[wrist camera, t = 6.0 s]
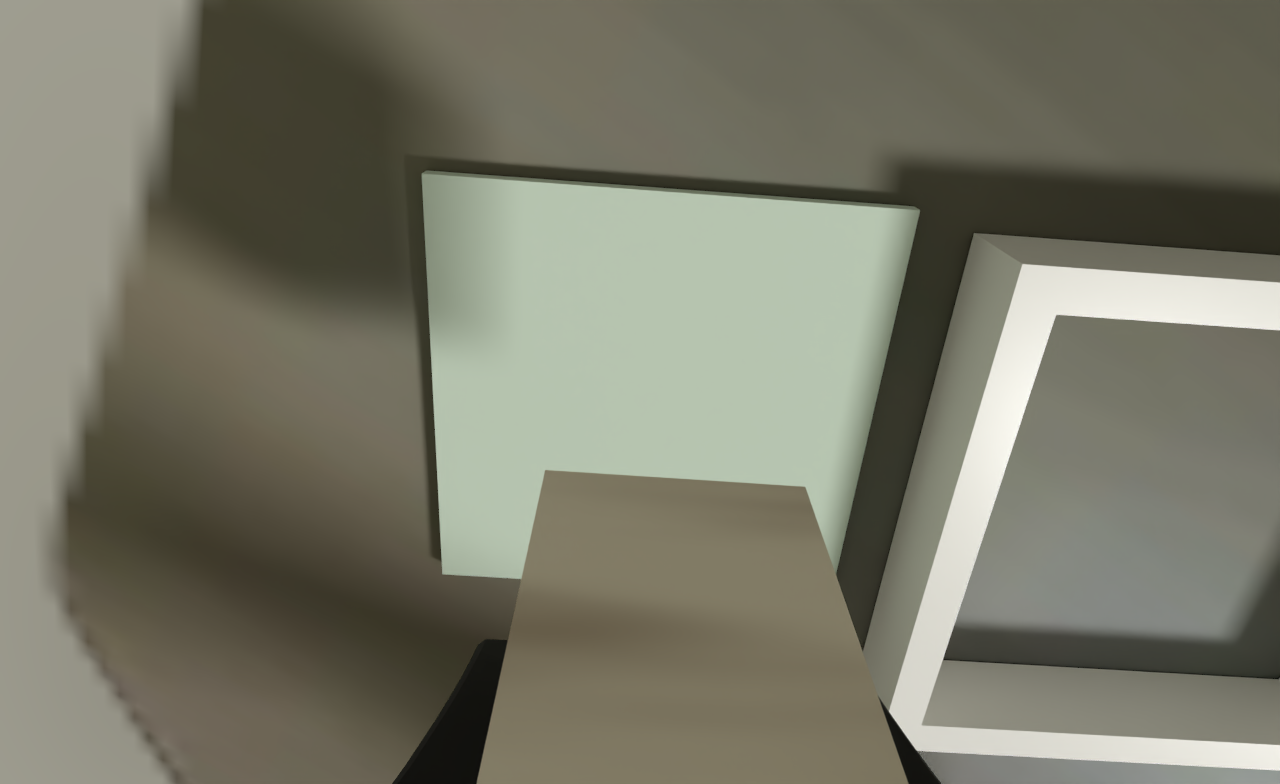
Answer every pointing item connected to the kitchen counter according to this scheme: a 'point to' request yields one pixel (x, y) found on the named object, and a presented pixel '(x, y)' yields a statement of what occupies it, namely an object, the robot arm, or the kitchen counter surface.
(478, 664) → the robot arm
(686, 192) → the pad
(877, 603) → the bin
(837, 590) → the birch block
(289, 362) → the kitchen counter surface
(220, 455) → the kitchen counter surface
